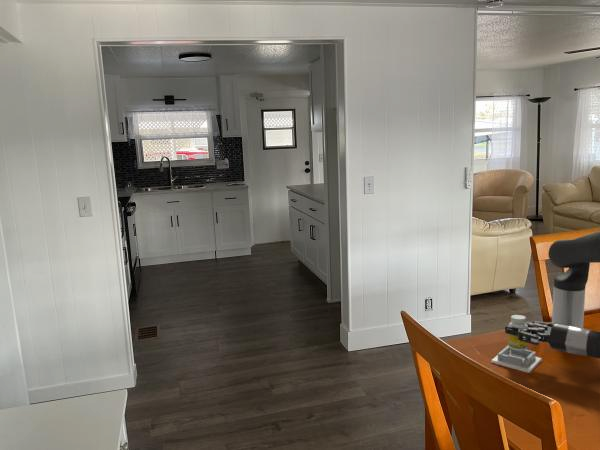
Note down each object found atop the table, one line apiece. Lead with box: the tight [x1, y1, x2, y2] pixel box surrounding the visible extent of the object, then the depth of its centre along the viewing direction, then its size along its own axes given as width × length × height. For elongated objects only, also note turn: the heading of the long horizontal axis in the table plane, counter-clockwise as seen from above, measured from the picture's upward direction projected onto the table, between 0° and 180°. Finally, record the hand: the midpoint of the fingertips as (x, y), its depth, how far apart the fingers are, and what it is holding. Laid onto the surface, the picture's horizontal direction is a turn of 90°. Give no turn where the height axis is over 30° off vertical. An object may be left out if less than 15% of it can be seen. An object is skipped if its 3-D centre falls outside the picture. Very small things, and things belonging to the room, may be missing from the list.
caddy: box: [490, 345, 543, 374], centre depth 150 cm, size 10×11×3 cm
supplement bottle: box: [507, 314, 529, 351], centre depth 148 cm, size 5×5×10 cm
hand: (509, 326), depth 150 cm, fingers closed on supplement bottle, 5 cm apart
